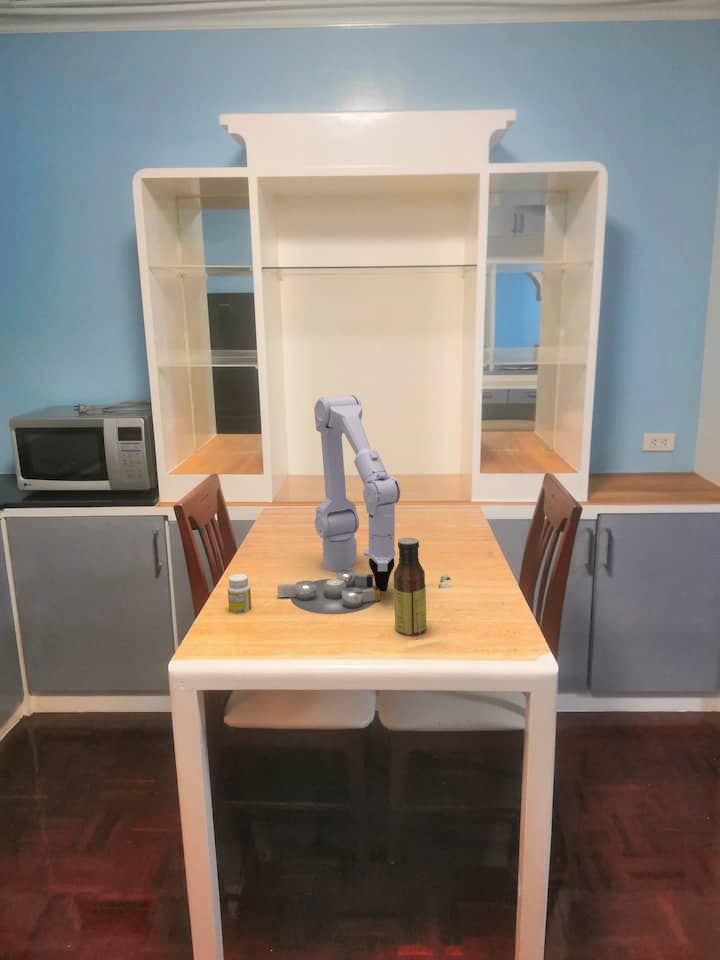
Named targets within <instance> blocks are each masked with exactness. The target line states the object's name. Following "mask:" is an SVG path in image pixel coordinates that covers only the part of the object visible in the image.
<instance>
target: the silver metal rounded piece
mask: <svg viewBox="0 0 720 960" xmlns="http://www.w3.org/2000/svg"><path fill="white" fill-rule="evenodd" d="M313 581H314V580H299V581H297V582H296V583H295V584H284V583H278V584H277V598H290V597H296V598H297V599H299V600H311V599H314V598H315V597H316V583H315V582H313Z"/></svg>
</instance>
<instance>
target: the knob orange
mask: <svg viewBox="0 0 720 960" xmlns="http://www.w3.org/2000/svg"><path fill="white" fill-rule="evenodd" d="M373 587H374V588H370V589H364V590H361V589H359V588H346V589H343V590H342V605H343V606H344V607H347V608H357V607H360V606H362V605H363V603H365V602H370V601H377V602H378V601H380V600H381V595H380V594H381V593H380V589H379V588H378V587H376V586H373Z"/></svg>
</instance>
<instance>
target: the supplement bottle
mask: <svg viewBox="0 0 720 960" xmlns="http://www.w3.org/2000/svg"><path fill="white" fill-rule="evenodd" d="M251 592H252V591H251V585H250V583H249V577H248V575H247V574H245V573H235V574H232V575H230V576H229V577H228V587H227V597H228V610H229V612H230V613H233V614H245V613H248V612H250V610H252V597H251V596H252V595H251Z"/></svg>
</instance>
